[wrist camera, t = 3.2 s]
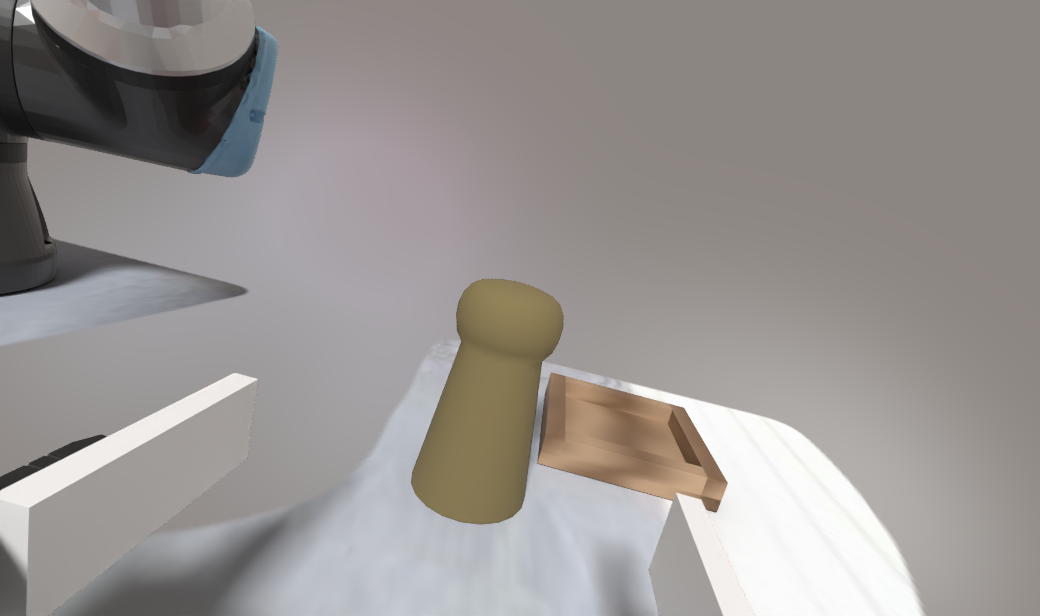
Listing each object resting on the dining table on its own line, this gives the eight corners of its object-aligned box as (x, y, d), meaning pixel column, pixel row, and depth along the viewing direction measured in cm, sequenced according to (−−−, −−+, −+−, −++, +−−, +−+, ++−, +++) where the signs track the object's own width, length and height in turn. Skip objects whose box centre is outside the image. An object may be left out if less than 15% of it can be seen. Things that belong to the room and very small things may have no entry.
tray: (537, 463, 30) (545, 433, 29) (544, 394, 40) (551, 372, 40) (716, 512, 29) (727, 483, 29) (676, 429, 40) (683, 407, 40)
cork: (387, 489, 24) (432, 271, 22) (445, 441, 30) (486, 264, 27) (499, 542, 22) (562, 312, 20) (538, 480, 28) (590, 296, 26)
